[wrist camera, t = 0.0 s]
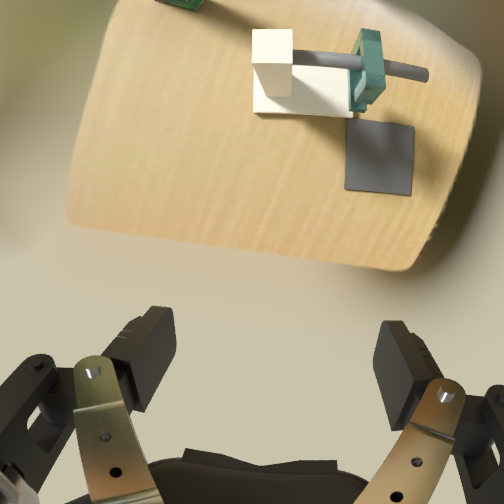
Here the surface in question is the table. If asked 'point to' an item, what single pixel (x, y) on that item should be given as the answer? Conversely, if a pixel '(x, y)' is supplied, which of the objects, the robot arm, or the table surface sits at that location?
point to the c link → (366, 71)
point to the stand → (308, 76)
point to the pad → (379, 156)
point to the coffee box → (185, 3)
